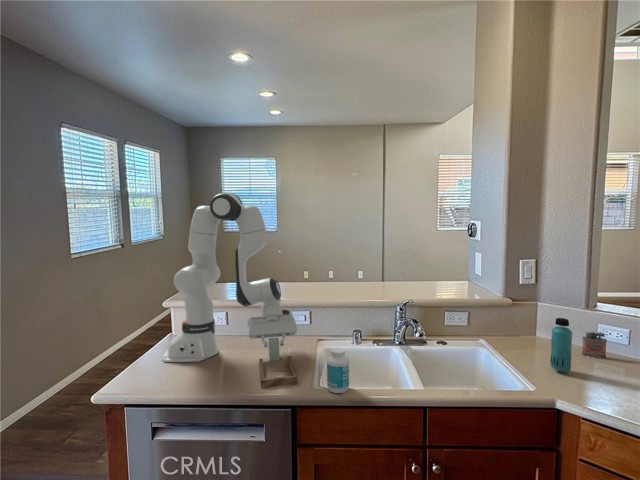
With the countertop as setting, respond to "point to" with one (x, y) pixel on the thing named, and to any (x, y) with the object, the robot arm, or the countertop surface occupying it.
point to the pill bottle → (337, 371)
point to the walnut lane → (278, 380)
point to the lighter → (594, 345)
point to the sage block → (273, 349)
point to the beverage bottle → (561, 346)
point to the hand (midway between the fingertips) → (274, 345)
